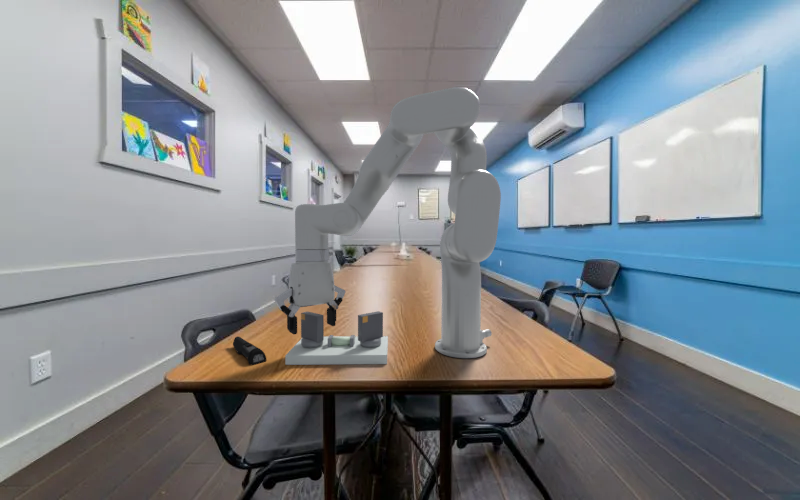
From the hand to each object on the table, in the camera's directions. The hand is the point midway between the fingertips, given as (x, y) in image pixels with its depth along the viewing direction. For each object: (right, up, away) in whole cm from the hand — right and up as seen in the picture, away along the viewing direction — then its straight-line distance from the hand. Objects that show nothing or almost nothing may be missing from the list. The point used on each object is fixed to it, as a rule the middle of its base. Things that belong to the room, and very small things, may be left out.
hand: (312, 328), depth 71 cm
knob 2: (+14, -4, 0) cm, 14 cm away
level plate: (+7, -6, 0) cm, 9 cm away
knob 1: (0, -4, 0) cm, 4 cm away
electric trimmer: (-15, -6, -1) cm, 17 cm away
